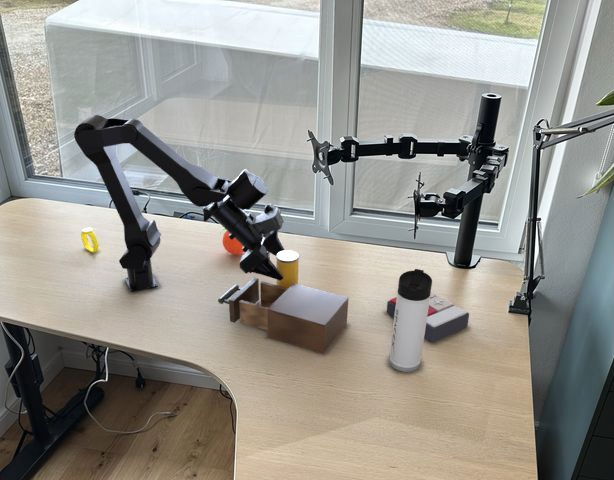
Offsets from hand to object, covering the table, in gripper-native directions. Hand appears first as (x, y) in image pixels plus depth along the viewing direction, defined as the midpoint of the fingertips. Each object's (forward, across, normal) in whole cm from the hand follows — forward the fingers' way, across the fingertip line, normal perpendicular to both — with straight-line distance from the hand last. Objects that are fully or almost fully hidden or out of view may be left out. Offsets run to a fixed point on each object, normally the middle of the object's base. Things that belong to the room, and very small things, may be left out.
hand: (284, 269), depth 151 cm
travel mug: (+25, -23, -15) cm, 37 cm away
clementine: (-6, +19, +16) cm, 26 cm away
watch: (-32, +15, +43) cm, 55 cm away
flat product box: (+28, -6, -18) cm, 34 cm away
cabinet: (+10, -14, 0) cm, 17 cm away
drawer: (+1, -10, +7) cm, 13 cm away
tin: (+5, 0, +4) cm, 7 cm away
